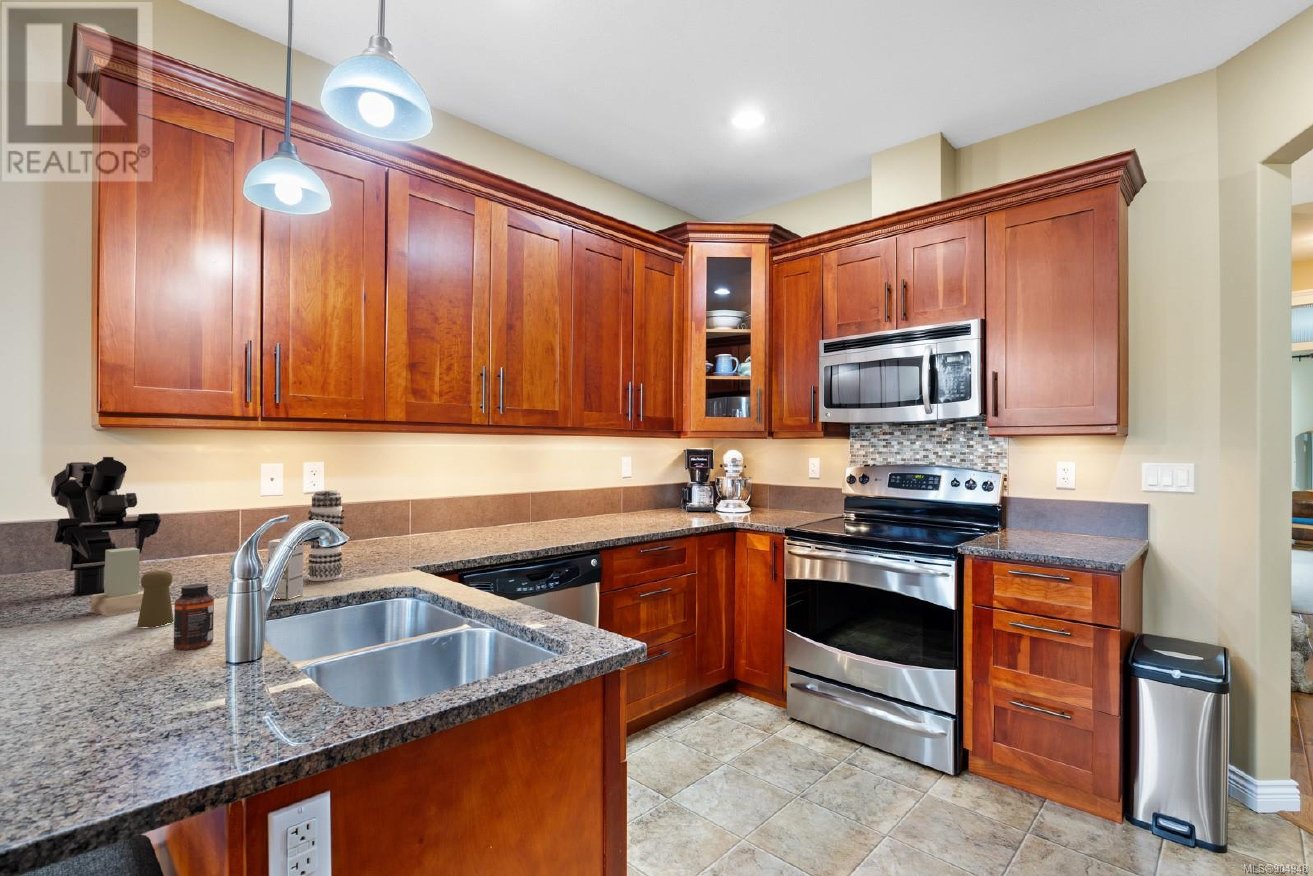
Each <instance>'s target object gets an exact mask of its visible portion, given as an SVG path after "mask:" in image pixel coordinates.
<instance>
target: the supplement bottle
mask: <svg viewBox="0 0 1313 876" xmlns="http://www.w3.org/2000/svg"><path fill="white" fill-rule="evenodd" d="M180 594H181V595H180V596H179V597H178V598H177V599H176V600H175V602H174V606H173V607H174V612H173V619H174V623H173V647H174V649H175V650H177V651H191V650H197V649H201V648H205V647H208V646H210V645H211V644H212V643H213V642H214V614H215V612H214V611H215V598H214V596H213V595H211V594H209V584H208V583H192V584H186V585H183V586H181V591H180Z"/></svg>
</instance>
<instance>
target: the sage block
mask: <svg viewBox="0 0 1313 876" xmlns="http://www.w3.org/2000/svg"><path fill="white" fill-rule="evenodd" d="M140 554H141V553H140V549H137V547H132V546H131V547H123V548H117V549H110V550H105V577H104V592H103V593H104V594H105V595H107V596H108V597H116V596H123V595H130V594H137V593H138V591H139V590H140V587H139V584H140V579H139V578H140Z"/></svg>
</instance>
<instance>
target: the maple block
mask: <svg viewBox="0 0 1313 876" xmlns="http://www.w3.org/2000/svg"><path fill="white" fill-rule="evenodd" d="M143 593H144V590H143V589H139V591H138V593H137V594H130V595H123V596H116V597H108V596H107V595H105V594H104V592H102V593H98V594H96V593H95V594H92V595H91V596H90V612H91V613H93V614H97V615H100V614H102V615H101V616H104V615H106V617H110V616H109V615H113V614H118V615H121V614H120V613H123V614H125V613H124V612H129V611H133V610H138V609H141V604H142V598H143ZM129 613H130V612H129ZM113 616H114V615H113Z"/></svg>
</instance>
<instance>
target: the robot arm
mask: <svg viewBox="0 0 1313 876" xmlns="http://www.w3.org/2000/svg"><path fill="white" fill-rule="evenodd" d="M126 473H127V465H126V464H125V463H123V462H122V461H119V460H117V459H115V458H114V456H103V457H102V460H100V461H98V462H97V463H92V462H88V461H85V462H84V461H83V462H81V461H80V462H79V461H78V462H77V461H76V462H73V461H72V462H70V463H69V462H68V463H66V466H65V468H64V469H63V470H61V471H60V472H59V473H57V474H56V475H54V476H53V479H52V483H51V486H50V487H51V488H50V489H51V490H50V494H51V497H52V498H54V500H55V502H56V504H57V505H59V506H60V507H63V508H65V509H66V510H67V513H68V516H69V517H67V518H59V519H57V520H56V522H55V523H54V524H55V525H54V528H53V532H52V537H53V542H54V543H57V544H59V543H60V544H61V543H62V545H68V546H69V548H68V551H67V554H66V558H65V563H64V565H65V566H64V567H65V570H67V571H69V572H73V571H74V576H73V579H74V580H73V589H71V590H70V592H71V596H80V595H81V596H82V595H89V594H96V593H98V594H100V593H104V586H105V550H110V549H118V547H116V543H115V542H113V541H112V538H111V536H110V532H119V531H121V532H122V531H133V530H134V534H135V537H134V540H135V545H136V547H135V548H137V549H140V553H139V554H142V552H143V547H144V543H145V539H146V538H150V537H151V536H153V535H156V534H157V532H158V530H159V526H160V524H161V523H162V522H161V521H162V519H161V515H160V514H159V513H156V512H153V513H152V512H151V513H150V512H149V513H138V516H137V518H136V519H135V520H124V518H126V517H127V514H128V513H127V510H128V508H129V509H130V508H135V507H136V506H137V505H138V497H137V494H136V492H126V493H124V494H122V493H121V494H118V490H120V489H121V487H122V484H123V482H124V479H125V476H126ZM71 478H74V479H71Z"/></svg>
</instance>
